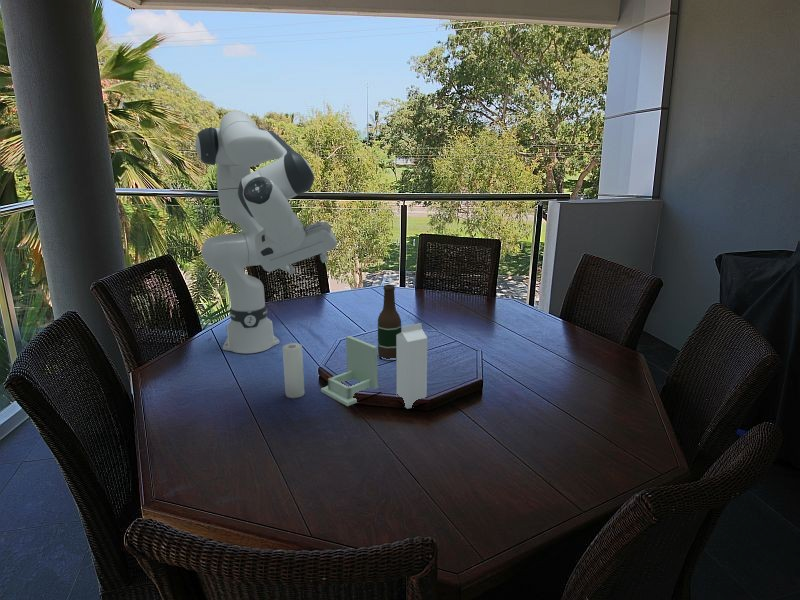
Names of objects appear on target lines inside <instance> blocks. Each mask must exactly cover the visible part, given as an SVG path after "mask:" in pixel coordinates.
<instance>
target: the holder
mask: <svg viewBox="0 0 800 600" xmlns="http://www.w3.org/2000/svg"><path fill="white" fill-rule="evenodd" d="M345 340H346V344H345V345H346V368H347V369H346V370H347V371H345V372H343V373H340V374H337V375H334V376H332V377H329V378H327V385H326V386H324V387H321V388H320V392H321V393H323V394H325V395H326V396H328V397H329V398H331V399H334V400H335V401H337V402H338V403H341V404H342V405H345V406H346V407H349V406H352V405H354V404H358V402H357V399H356V398H353V396H354V394H355V393H356V392H359V391H361V390H365V389H367V388H370V387H372V388H374V389H376V388H379V382H378V381H379V379H378V376H379V375H378V374H379V373H378V372H379V371H378V345H373V344H371V343H368V342H366V341H363V340H361V339H359V338H356V337H354V336H352V335H347V336H345ZM351 379H355V380H357V381H359V382H360V383H357V384H355V385H352V386H349V387H348V386H346V385H344V384H342V383H341V382H343V381H348V380H351Z"/></svg>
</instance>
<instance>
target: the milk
mask: <svg viewBox="0 0 800 600" xmlns="http://www.w3.org/2000/svg"><path fill="white" fill-rule="evenodd" d="M422 325H423V324H422V323H421V322H420V323H419V322H418V323H414V324H409V325H404V326H401V333H399V334H397V335H396V360H395V361H396V395H397V394H398V395H399V396H400V397H402V398H403V400H404V403H405V406H404V408H406V409H407V410H408V409H412V405H413V403H414V402H415V401H416V400H418V399H421V398H425V397H427V396H428V395H427V394H428V393H427V392H428V391H427V389H428V386H427V384H428V337H427V335H426V333H425V332H424V330H423V327H422ZM427 398H428V397H427Z"/></svg>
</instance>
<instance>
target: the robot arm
mask: <svg viewBox="0 0 800 600" xmlns="http://www.w3.org/2000/svg"><path fill="white" fill-rule="evenodd" d="M194 145H195V150H196V154H197V156H198V157H199V160H200V161H201V162H202V163H203V164H205V165H211V166H215V165H216V187H217V195H218V203H219V210H220V213H221V215H222V217H223V218H224V219H225V220H227V221H230V222H232V223H234V224H237V225H238V226H239V227H240V229H241V232H239V233H228V234H218V235H215V236H213V237H209V238H206V240H205V241H204V242H203V244H202V247H201V257H202V260H203V262H204V263H205V265H206V266H208V267H209V268H210V269H212V270H214V271H216V272H217V273H218V274H219V275H220V276H221V277H222V279H223V280H224V281H225V283H226V285H227V290H228V295H229V300H230V301H229V302H230V307H229V315H230V319H231V320H230V322H229V323H228V324H227V325H226V327H225V330H226V332H227V334H226V339H225V341H224V344H223V345H222V350H223V351H228V352H229V351H230V352H232V353H233V352H234V353H236V354H255V353H261V352H265V351H267V350H269V349H272V347H274V346H277V345H279V344H280V339H279V338H277V336H275V335H274V327H273V326H274V325H273V321H272V320H271V319H270V318H268V308H267V305H266V300H265V288H264V287H265V285H264V284H263V282H262V280H260V279H259V278H257V277H256V276H252V275H250V274H246V272H245V268H247V267H253V266H261V267H262V269H263V270H264V271H266V272H270V273H271V272H273V271H276V270H278V269H280V270H282V271H283V272H284V271H285V272H287V273H288V274H289V275H293V274H296V269H295V267H294V265H293V264H296V263H299V262H302V261H303V260H307V259H309V258H312V257H315V256H318V255H319V258H320V261H321V263H322V264H324V263H327V262H329V259H328V251H332V250H334V249H336V247H337V245H338V241H337V237H336V235H335V233H334V232H333V230H332V227H331V225H330V224H329V222H328V221H321V220H319V221H316V222H314V223H311V224H307V225H305V226H304V224H303V223H302V221H301V220H300V218H299V217H298V215H297V214H296V212H294V211H293V208H292V205H291V204H290V202H289V200H291V199H293V198H295V197H297V196H299V195H301V194H302V195H303V194H305V193H307V192H309V191H310V190H311V188H312V187H313V185H314V181H315V175H314V171H313V168H312V167H311V165H310V163H309V162H308V160H307V159H306V158H304V157H303V155H301V154H300V153H299V152H297V151H295V149H293V148H292V147H291V146H290V145H289V144H288V143H287V142H286V141H285V140H284V139H283V137H281V136H280V135H278V134H277V133H276V132H274V131H273V130H266V129H264V128H261V127H258V125H257V123H256V122H255V121H254V120H253V119H252V118H251V117H250V116H249V115H248V114H247V113H245V112H243V111H239V110H232V111H229V112H227V113H226V114H224V115H223V117H222V118H221V119H220V123H219V127H212V126H210V127H206V128H203V129H201V130H200V131H199V132H198V133H196V139H195V143H194ZM272 160H274V161H272ZM269 161H272V162H269ZM267 162H269V163H268V164H267V165H264V166H262V167H261V168H259V167H260V165H262V164H264V163H267ZM251 167H256V168H258V169H257V170H254V171H253V172H251Z"/></svg>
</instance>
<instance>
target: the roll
mask: <svg viewBox="0 0 800 600" xmlns="http://www.w3.org/2000/svg"><path fill="white" fill-rule="evenodd" d="M282 361H283V374H284V375H283V376H284V378H283V379H284V391H285V392H284V393H285V397H287V398H289V399H290V398H291V399H296V398H301V397H303V396H304V395H305V376H304V375H305V374H304V362H303V361H304V359H303V346H302V344H301V343H295V342H294V343H293V342H292V343H287V344H284V345H283V346H282Z"/></svg>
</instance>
